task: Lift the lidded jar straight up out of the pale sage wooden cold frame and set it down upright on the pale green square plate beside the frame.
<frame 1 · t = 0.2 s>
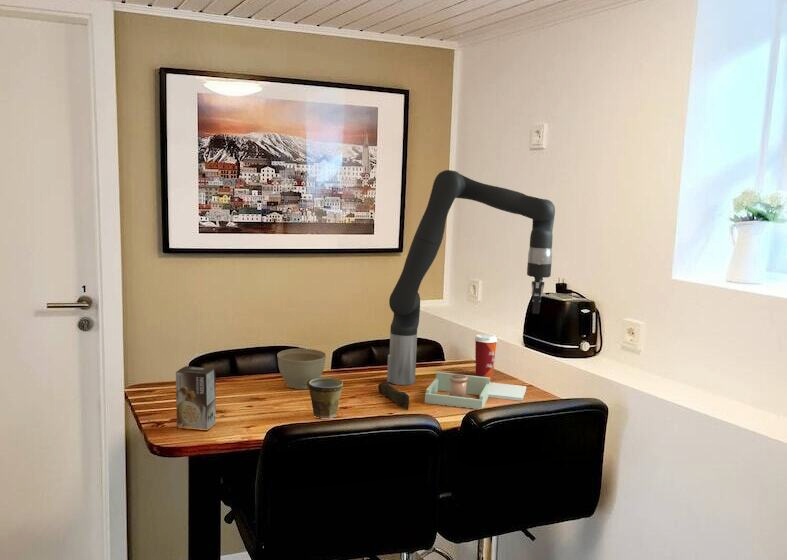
hand: (536, 311, 222), 29 cm above the table, tool pointing down, fingers open, 8 cm apart
hand tool: (396, 402, 217), on the table
lidded jar: (458, 387, 220), in the cold frame
coffee cup: (483, 377, 248), on the table
cold frame: (457, 399, 221), on the table
pale green square plate: (503, 392, 229), on the table
ceramic cup: (321, 415, 201), on the table
planter bowl: (301, 386, 229), on the table
coffee box: (196, 427, 188), on the table
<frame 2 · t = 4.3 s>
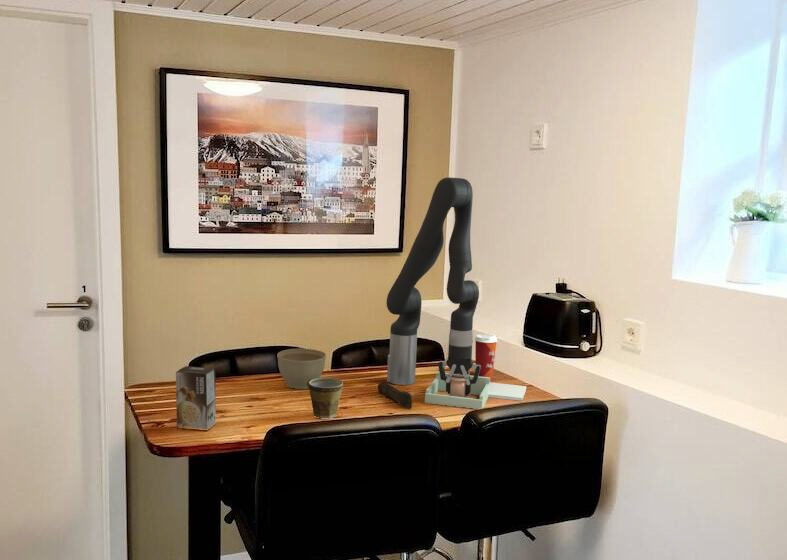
hand: (458, 394, 220), 2 cm above the table, tool pointing down, fingers closed on lidded jar, 5 cm apart
lidded jar: (458, 387, 220), in the cold frame, touching gripper
when the fingers open (4 cm above the table, at t = 10.2 s): lidded jar drops 1 cm, resting on pale green square plate.
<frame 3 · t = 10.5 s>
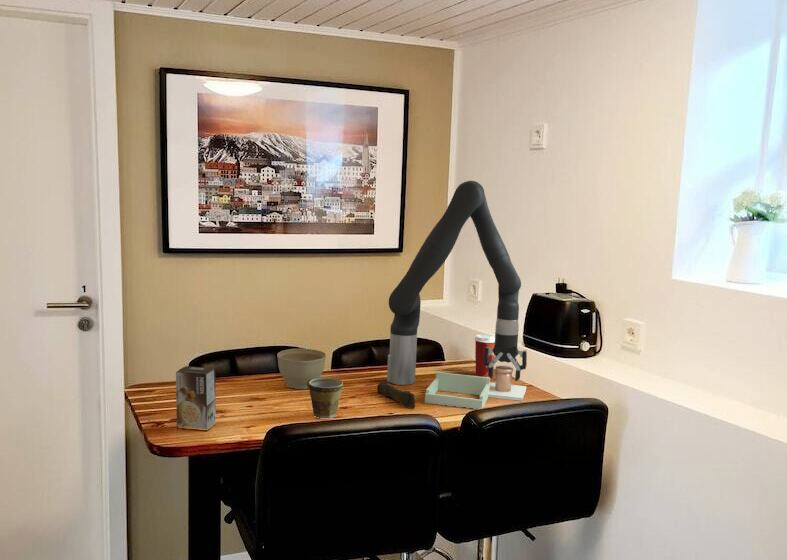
hand: (503, 379, 229), 5 cm above the table, tool pointing down, fingers open, 8 cm apart
lidded jar: (503, 378, 229), on the pale green square plate, point 5 cm above the table
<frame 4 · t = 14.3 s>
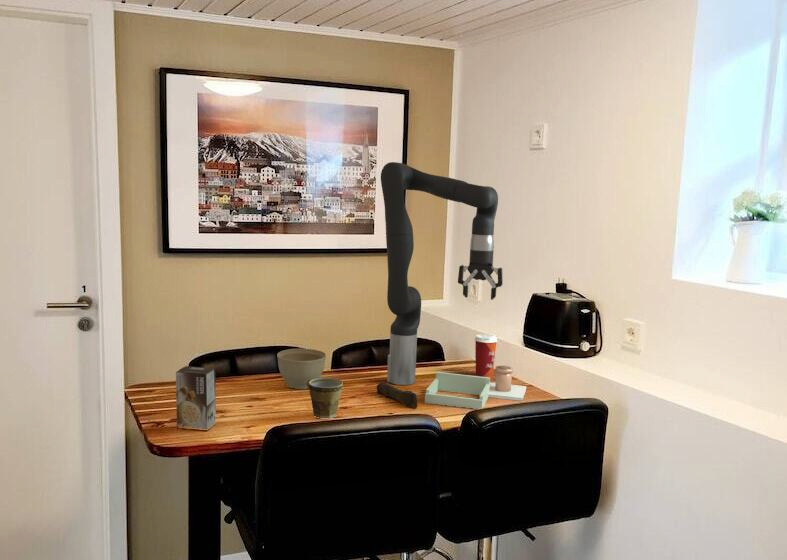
hand: (479, 298, 223), 32 cm above the table, tool pointing down, fingers open, 8 cm apart
at the end: lidded jar inside the target area on the pale green square plate (0.1 cm from its centre), point 4.8 cm above the pale green square plate's base; lidded jar tilted 0°; lidded jar touching pale green square plate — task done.
